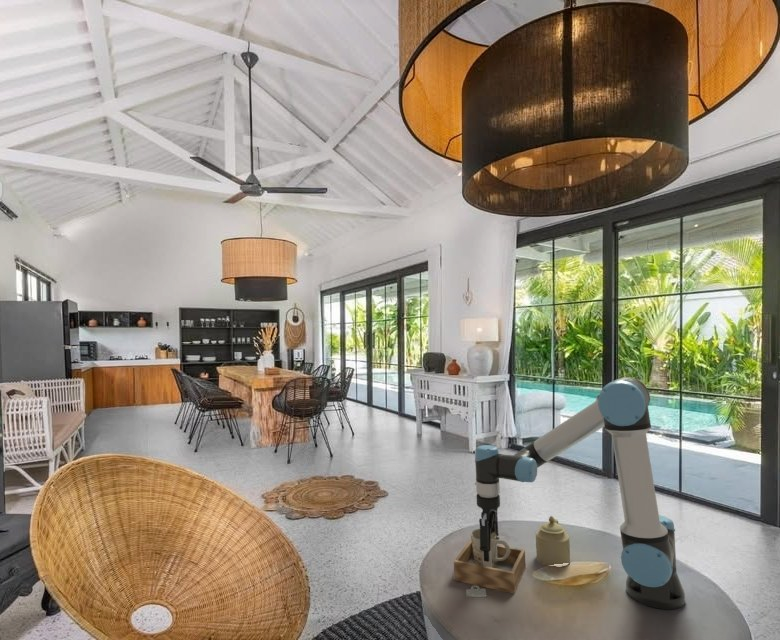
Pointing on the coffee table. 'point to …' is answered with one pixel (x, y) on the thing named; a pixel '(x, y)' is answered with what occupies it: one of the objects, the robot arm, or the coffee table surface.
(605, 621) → the coffee table surface
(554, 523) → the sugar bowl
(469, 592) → the mounting bracket
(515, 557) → the open wooden crate
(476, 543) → the mug
